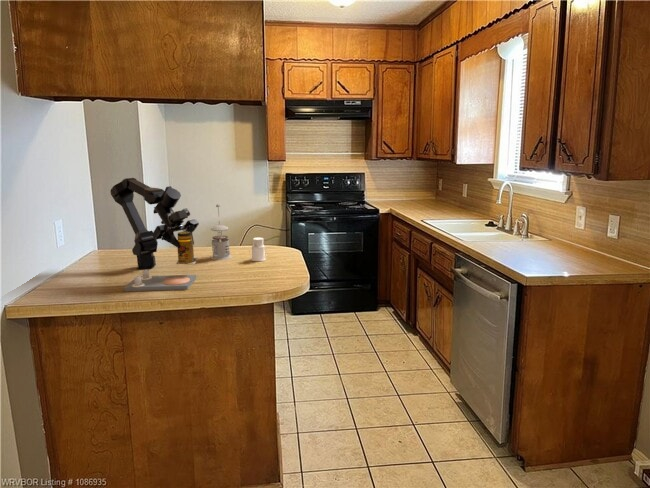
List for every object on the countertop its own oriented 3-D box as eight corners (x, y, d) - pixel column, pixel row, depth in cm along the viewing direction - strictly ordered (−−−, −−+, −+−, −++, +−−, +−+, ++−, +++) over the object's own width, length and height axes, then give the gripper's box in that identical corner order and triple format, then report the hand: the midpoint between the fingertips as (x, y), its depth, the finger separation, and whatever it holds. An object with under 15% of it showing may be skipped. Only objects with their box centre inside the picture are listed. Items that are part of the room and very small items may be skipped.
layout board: (124, 291, 175) (123, 279, 174) (137, 279, 189) (136, 268, 188) (187, 289, 176) (186, 277, 175) (195, 278, 190) (195, 267, 189)
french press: (210, 260, 217) (206, 206, 211) (210, 254, 228) (206, 202, 222) (232, 259, 219) (229, 205, 213) (231, 253, 230) (228, 201, 224)
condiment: (176, 264, 186) (174, 234, 183) (178, 258, 194) (176, 230, 191) (195, 263, 187) (193, 234, 184) (197, 258, 195) (195, 229, 192)
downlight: (250, 262, 213) (250, 240, 211) (248, 258, 220) (248, 237, 217) (268, 261, 215) (268, 239, 213) (265, 257, 222) (265, 236, 220)
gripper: (154, 205, 179) (174, 238, 175) (194, 199, 194) (214, 229, 190) (144, 223, 186) (163, 255, 182) (183, 216, 200) (202, 245, 196)
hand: (186, 245), depth 187 cm, fingers closed on condiment, 6 cm apart
